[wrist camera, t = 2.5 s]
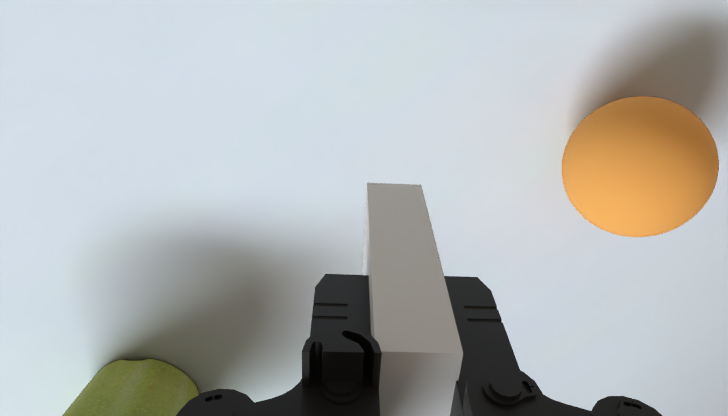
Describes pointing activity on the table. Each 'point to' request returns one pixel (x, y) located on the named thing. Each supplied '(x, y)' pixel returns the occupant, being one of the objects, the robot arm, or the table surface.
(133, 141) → the table surface
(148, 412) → the plant pot
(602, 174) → the ball
